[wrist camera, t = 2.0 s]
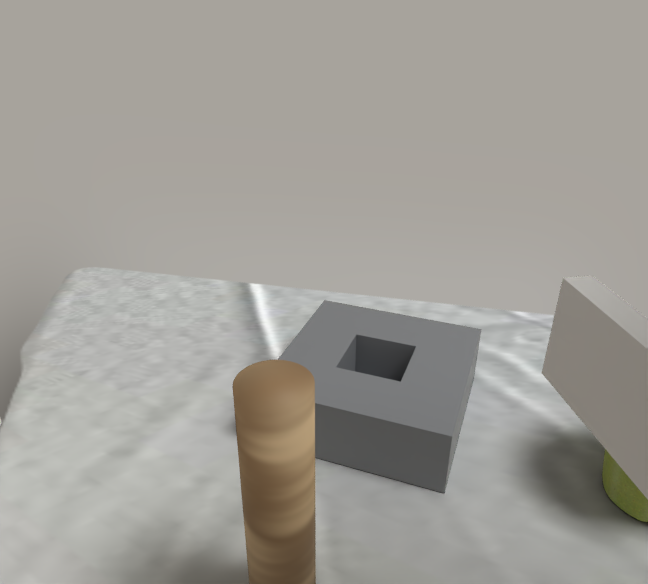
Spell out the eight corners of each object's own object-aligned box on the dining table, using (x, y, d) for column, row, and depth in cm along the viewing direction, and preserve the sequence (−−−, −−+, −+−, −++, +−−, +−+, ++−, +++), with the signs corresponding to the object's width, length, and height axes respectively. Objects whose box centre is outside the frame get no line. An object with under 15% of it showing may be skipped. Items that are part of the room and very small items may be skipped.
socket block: (473, 378, 51) (481, 329, 49) (444, 493, 40) (452, 436, 37) (324, 346, 56) (324, 300, 53) (258, 441, 44) (255, 388, 42)
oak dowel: (324, 583, 34) (326, 369, 27) (300, 641, 31) (295, 417, 24) (268, 563, 35) (255, 353, 28) (239, 618, 32) (217, 397, 25)
